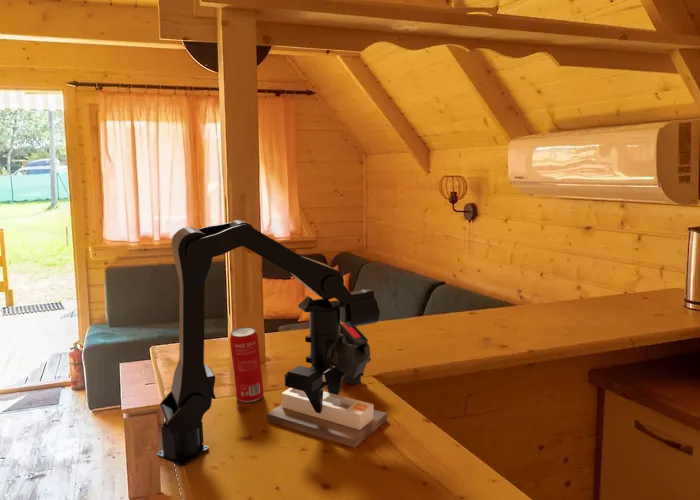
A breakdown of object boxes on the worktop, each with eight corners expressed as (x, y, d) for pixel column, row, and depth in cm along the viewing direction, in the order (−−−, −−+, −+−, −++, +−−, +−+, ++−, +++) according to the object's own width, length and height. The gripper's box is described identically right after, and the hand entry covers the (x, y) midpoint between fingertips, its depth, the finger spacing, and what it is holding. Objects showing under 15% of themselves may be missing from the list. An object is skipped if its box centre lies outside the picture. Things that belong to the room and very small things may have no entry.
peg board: (354, 447, 109) (354, 427, 108) (267, 420, 119) (266, 401, 119) (386, 420, 119) (386, 401, 118) (303, 397, 129) (302, 379, 129)
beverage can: (269, 394, 131) (266, 328, 128) (249, 406, 125) (246, 337, 122) (247, 389, 134) (244, 323, 131) (227, 400, 128) (223, 332, 125)
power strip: (359, 430, 112) (359, 412, 111) (281, 407, 121) (281, 391, 121) (373, 418, 116) (373, 402, 116) (297, 397, 126) (296, 382, 125)
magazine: (324, 356, 147) (340, 308, 140) (356, 395, 140) (375, 346, 132) (311, 360, 145) (327, 312, 137) (343, 399, 137) (362, 350, 130)
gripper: (333, 354, 104) (334, 438, 107) (386, 323, 119) (385, 398, 122) (281, 342, 109) (283, 423, 112) (338, 314, 125) (338, 386, 128)
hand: (326, 407), depth 119 cm, fingers closed on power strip, 5 cm apart
